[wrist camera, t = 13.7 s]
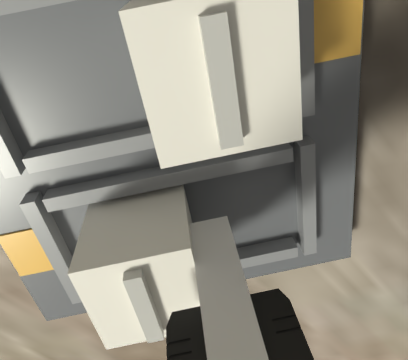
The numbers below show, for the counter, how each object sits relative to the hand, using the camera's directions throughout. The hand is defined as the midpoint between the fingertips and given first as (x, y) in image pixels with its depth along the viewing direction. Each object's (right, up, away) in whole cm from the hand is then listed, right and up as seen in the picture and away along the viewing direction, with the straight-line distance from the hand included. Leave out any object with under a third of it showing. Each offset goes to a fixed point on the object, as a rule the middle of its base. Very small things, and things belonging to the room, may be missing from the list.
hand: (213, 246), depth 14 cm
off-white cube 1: (0, +7, -2) cm, 7 cm away
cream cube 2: (-3, 0, +1) cm, 3 cm away
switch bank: (-2, +5, +1) cm, 5 cm away
